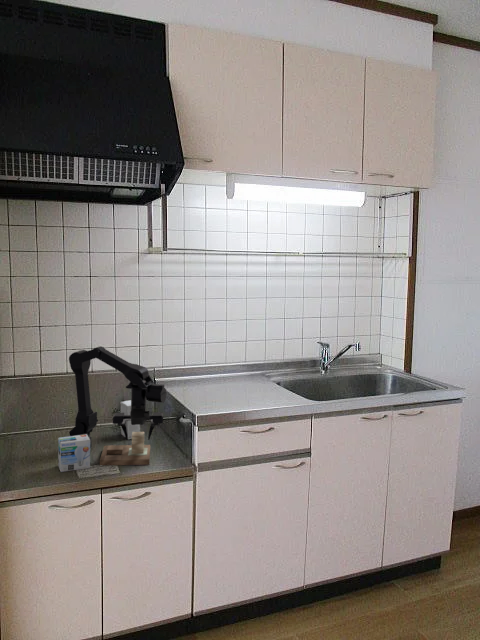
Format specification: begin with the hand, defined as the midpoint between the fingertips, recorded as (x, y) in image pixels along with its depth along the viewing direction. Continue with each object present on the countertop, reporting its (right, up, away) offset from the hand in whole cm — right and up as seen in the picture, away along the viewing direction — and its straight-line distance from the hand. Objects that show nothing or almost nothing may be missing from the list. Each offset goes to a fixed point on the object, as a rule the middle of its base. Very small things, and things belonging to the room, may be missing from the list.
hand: (138, 439), depth 201 cm
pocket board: (-5, -7, 0) cm, 8 cm away
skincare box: (-8, -4, +24) cm, 25 cm away
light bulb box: (-21, -8, -10) cm, 25 cm away
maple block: (0, -5, +1) cm, 5 cm away
